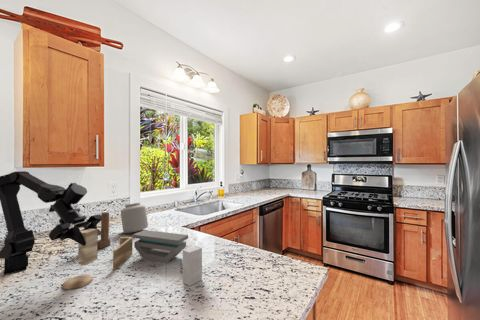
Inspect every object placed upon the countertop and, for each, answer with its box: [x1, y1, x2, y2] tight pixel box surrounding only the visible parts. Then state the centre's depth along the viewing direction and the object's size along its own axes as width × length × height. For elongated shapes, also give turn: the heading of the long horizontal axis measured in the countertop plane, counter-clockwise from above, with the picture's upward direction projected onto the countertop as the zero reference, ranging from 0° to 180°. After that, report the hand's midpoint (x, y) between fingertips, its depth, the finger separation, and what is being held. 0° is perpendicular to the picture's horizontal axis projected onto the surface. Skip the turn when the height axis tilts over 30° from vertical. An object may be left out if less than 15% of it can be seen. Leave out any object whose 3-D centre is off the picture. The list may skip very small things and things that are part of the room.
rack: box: [112, 236, 134, 271], centre depth 99 cm, size 6×17×8 cm, turn 4°
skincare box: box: [182, 245, 203, 287], centre depth 82 cm, size 6×4×12 cm
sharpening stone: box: [132, 229, 189, 264], centre depth 102 cm, size 25×8×11 cm, turn 71°
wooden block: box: [97, 211, 111, 250], centre depth 114 cm, size 4×11×18 cm, turn 158°
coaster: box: [61, 274, 94, 291], centre depth 80 cm, size 9×9×1 cm
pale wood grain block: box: [77, 228, 98, 266], centre depth 85 cm, size 4×5×12 cm
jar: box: [120, 202, 149, 234], centre depth 143 cm, size 19×15×25 cm
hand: (91, 242), depth 84 cm, fingers closed on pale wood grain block, 5 cm apart
